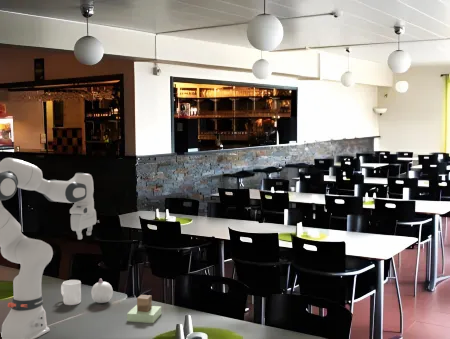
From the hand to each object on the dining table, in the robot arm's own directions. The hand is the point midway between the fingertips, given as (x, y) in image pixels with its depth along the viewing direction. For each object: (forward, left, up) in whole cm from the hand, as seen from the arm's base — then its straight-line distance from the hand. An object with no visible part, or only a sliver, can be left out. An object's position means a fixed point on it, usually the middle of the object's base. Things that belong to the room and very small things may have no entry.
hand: (84, 237), depth 258 cm
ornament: (+10, -4, -34) cm, 36 cm away
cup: (+8, +12, -34) cm, 37 cm away
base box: (-6, -31, -35) cm, 47 cm away
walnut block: (-6, -31, -31) cm, 44 cm away
